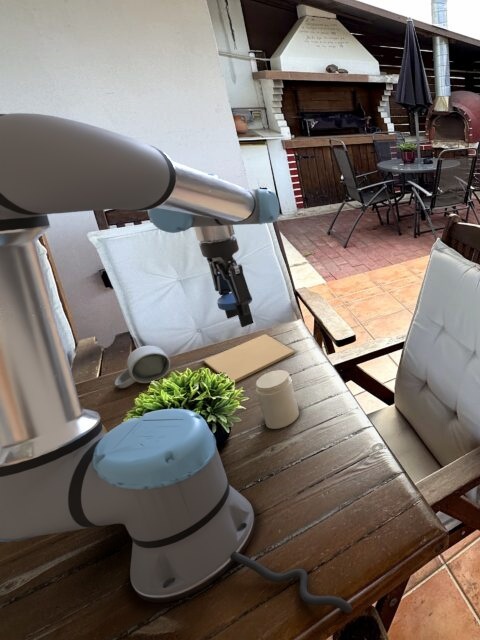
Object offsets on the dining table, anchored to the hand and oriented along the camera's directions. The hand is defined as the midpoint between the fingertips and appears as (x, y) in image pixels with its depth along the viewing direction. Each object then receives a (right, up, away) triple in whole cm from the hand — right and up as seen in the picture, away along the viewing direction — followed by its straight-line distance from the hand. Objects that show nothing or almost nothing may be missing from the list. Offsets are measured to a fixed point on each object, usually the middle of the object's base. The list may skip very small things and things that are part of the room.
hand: (240, 320), depth 105 cm
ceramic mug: (-21, -14, -4) cm, 26 cm away
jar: (+21, -19, -17) cm, 33 cm away
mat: (0, -11, +4) cm, 12 cm away
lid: (0, +6, -2) cm, 6 cm away
